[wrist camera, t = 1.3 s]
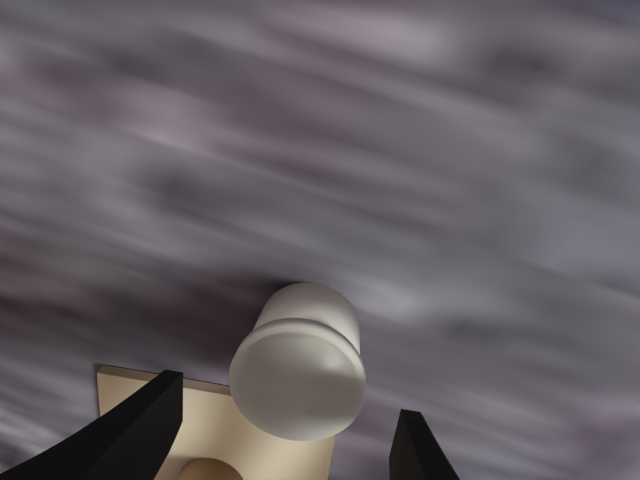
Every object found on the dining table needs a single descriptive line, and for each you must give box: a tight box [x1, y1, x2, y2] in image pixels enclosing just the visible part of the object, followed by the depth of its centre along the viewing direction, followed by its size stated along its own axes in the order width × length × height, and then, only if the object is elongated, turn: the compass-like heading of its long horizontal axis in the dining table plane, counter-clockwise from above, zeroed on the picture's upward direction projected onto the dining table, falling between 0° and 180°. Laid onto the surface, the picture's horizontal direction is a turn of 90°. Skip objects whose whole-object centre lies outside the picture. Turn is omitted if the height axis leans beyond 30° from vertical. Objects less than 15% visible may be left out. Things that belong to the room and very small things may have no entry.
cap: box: [229, 282, 366, 441], centre depth 16 cm, size 5×5×4 cm
